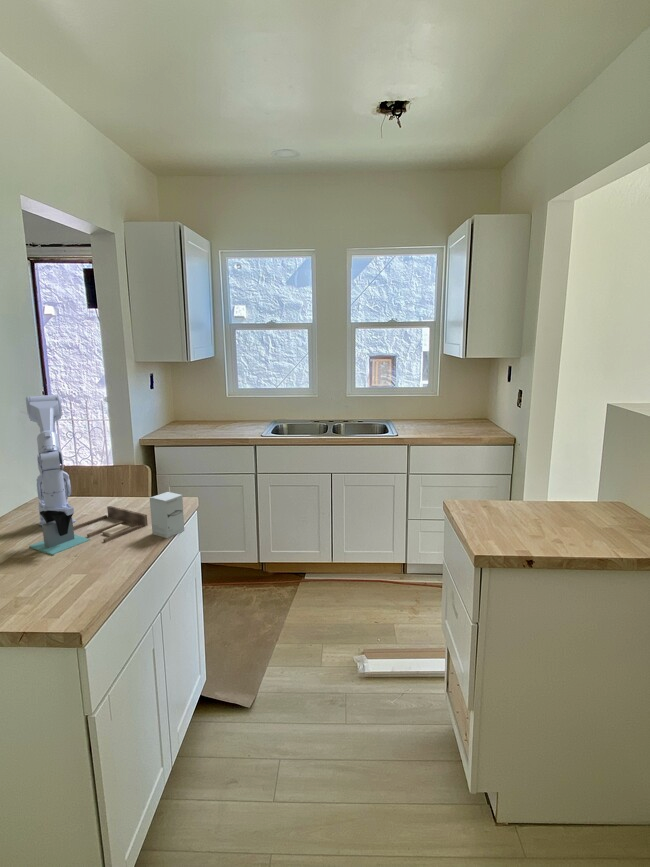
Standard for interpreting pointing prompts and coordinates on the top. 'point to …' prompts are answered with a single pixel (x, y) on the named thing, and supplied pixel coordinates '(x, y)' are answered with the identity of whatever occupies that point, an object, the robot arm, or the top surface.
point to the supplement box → (167, 514)
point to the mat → (60, 547)
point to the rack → (121, 515)
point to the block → (56, 534)
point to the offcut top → (115, 530)
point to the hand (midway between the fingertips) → (59, 533)
